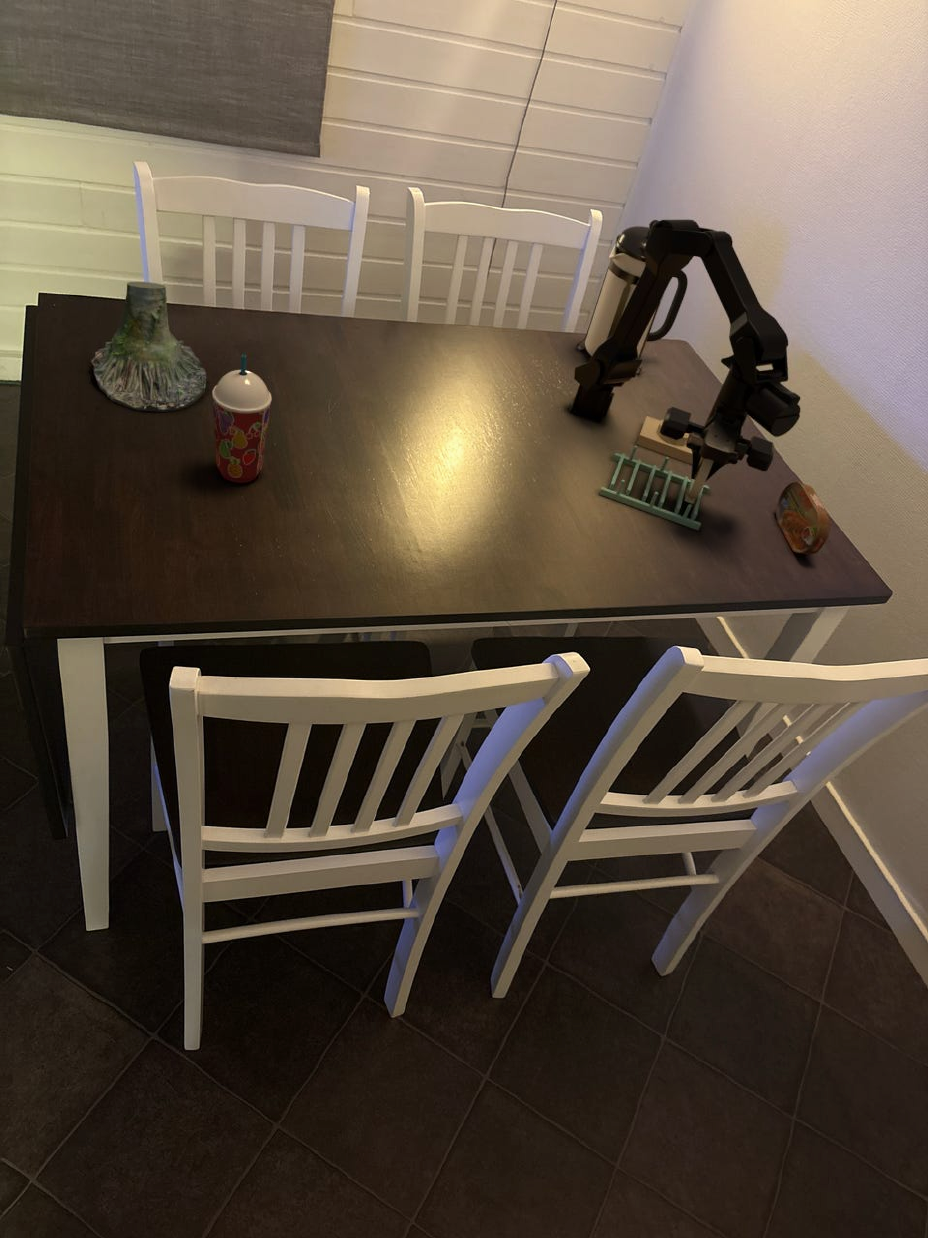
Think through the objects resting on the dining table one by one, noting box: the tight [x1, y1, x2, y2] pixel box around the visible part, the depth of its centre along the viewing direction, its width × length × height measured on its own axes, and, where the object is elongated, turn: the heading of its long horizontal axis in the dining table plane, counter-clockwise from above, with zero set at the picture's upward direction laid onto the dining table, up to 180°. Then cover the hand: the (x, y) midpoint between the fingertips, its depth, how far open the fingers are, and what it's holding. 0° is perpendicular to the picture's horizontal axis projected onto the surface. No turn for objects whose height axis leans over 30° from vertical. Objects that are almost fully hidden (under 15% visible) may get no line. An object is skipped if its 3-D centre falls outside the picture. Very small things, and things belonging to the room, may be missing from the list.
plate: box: [684, 457, 713, 505], centre depth 154 cm, size 2×9×10 cm, turn 163°
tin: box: [775, 481, 831, 555], centre depth 155 cm, size 15×3×8 cm, turn 5°
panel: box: [635, 415, 693, 465], centre depth 171 cm, size 12×8×4 cm, turn 73°
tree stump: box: [90, 281, 207, 413], centre depth 149 cm, size 18×20×18 cm
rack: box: [599, 445, 710, 531], centre depth 158 cm, size 18×13×4 cm
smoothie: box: [211, 354, 273, 484], centre depth 132 cm, size 8×8×20 cm
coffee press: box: [576, 219, 689, 375], centre depth 183 cm, size 17×16×30 cm
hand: (697, 479), depth 155 cm, fingers closed on plate, 2 cm apart
